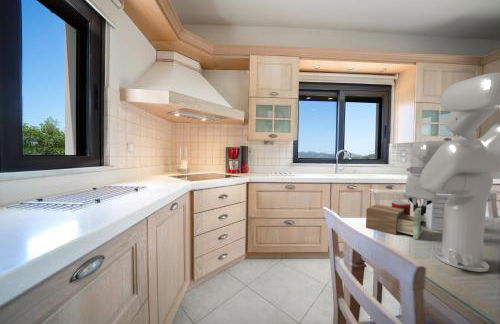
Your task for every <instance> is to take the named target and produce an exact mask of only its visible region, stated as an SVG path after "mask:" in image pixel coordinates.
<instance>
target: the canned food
mask: <svg viewBox="0 0 500 324" xmlns="http://www.w3.org/2000/svg"><path fill="white" fill-rule="evenodd" d="M391 207H396V208H402V209H404V215H410V216H411V203H410V201H409V202H408V201H404V200H396V199H395V200H392V201H391Z"/></svg>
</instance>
